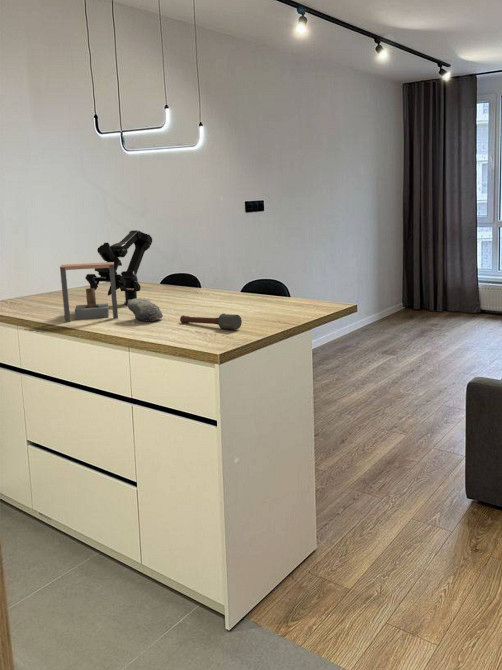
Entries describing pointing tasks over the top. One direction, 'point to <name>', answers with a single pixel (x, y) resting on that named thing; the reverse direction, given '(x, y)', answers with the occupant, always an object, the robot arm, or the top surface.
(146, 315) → the rock
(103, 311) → the socket stand
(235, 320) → the mallet
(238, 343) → the top surface
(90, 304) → the peg
